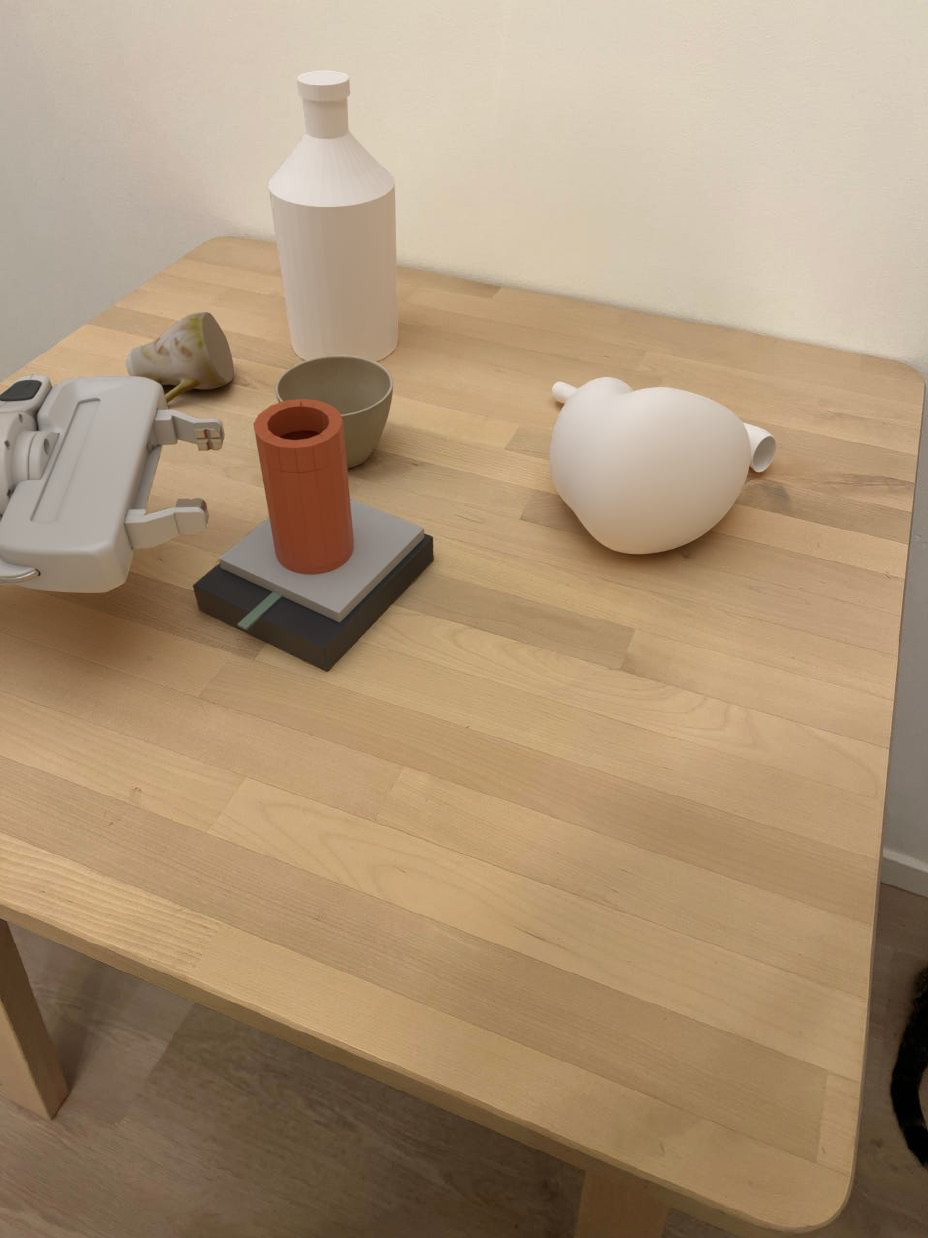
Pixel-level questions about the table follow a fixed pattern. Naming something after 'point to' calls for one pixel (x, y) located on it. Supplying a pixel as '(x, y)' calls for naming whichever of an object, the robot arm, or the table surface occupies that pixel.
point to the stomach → (650, 462)
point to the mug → (185, 356)
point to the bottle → (335, 232)
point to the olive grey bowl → (344, 396)
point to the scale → (316, 587)
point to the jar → (306, 484)
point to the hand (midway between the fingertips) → (215, 472)
